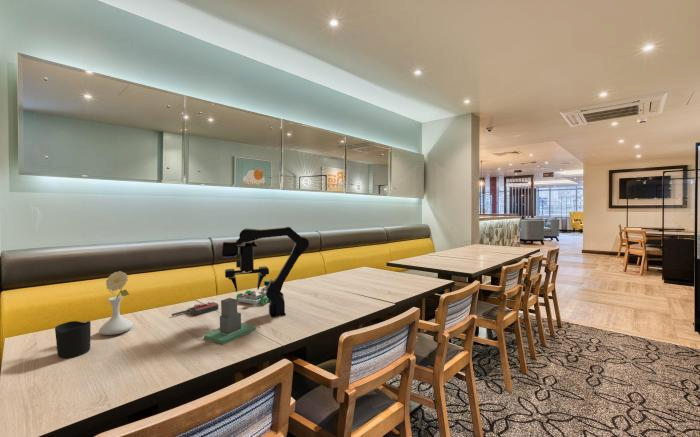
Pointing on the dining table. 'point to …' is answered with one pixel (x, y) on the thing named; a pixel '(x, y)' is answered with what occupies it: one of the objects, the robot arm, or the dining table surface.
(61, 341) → the pen holder
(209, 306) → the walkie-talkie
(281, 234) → the robot arm
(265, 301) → the robot kit
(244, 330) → the board
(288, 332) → the dining table surface
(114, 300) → the flower in vase
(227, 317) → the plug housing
